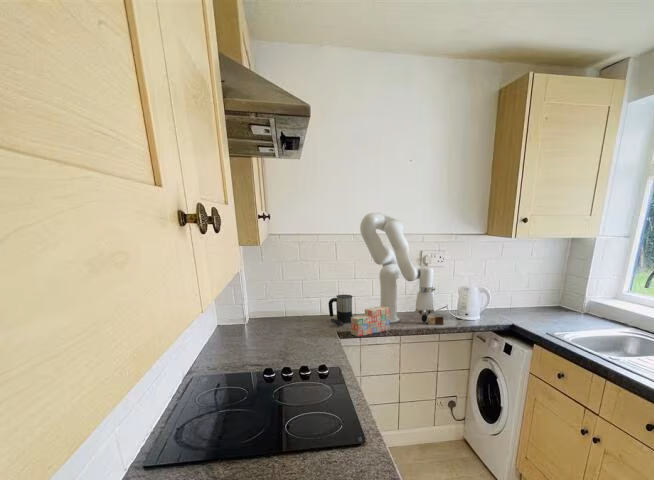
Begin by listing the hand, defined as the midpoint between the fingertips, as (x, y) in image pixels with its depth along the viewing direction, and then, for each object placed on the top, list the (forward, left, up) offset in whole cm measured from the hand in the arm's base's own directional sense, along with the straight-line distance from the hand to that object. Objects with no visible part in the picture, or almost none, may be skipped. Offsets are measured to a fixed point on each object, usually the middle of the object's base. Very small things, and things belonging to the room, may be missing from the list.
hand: (424, 322), depth 234 cm
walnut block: (+8, 0, -1) cm, 8 cm away
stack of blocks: (-30, -18, -1) cm, 35 cm away
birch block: (+4, 0, -1) cm, 4 cm away
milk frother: (-47, +1, -1) cm, 47 cm away
